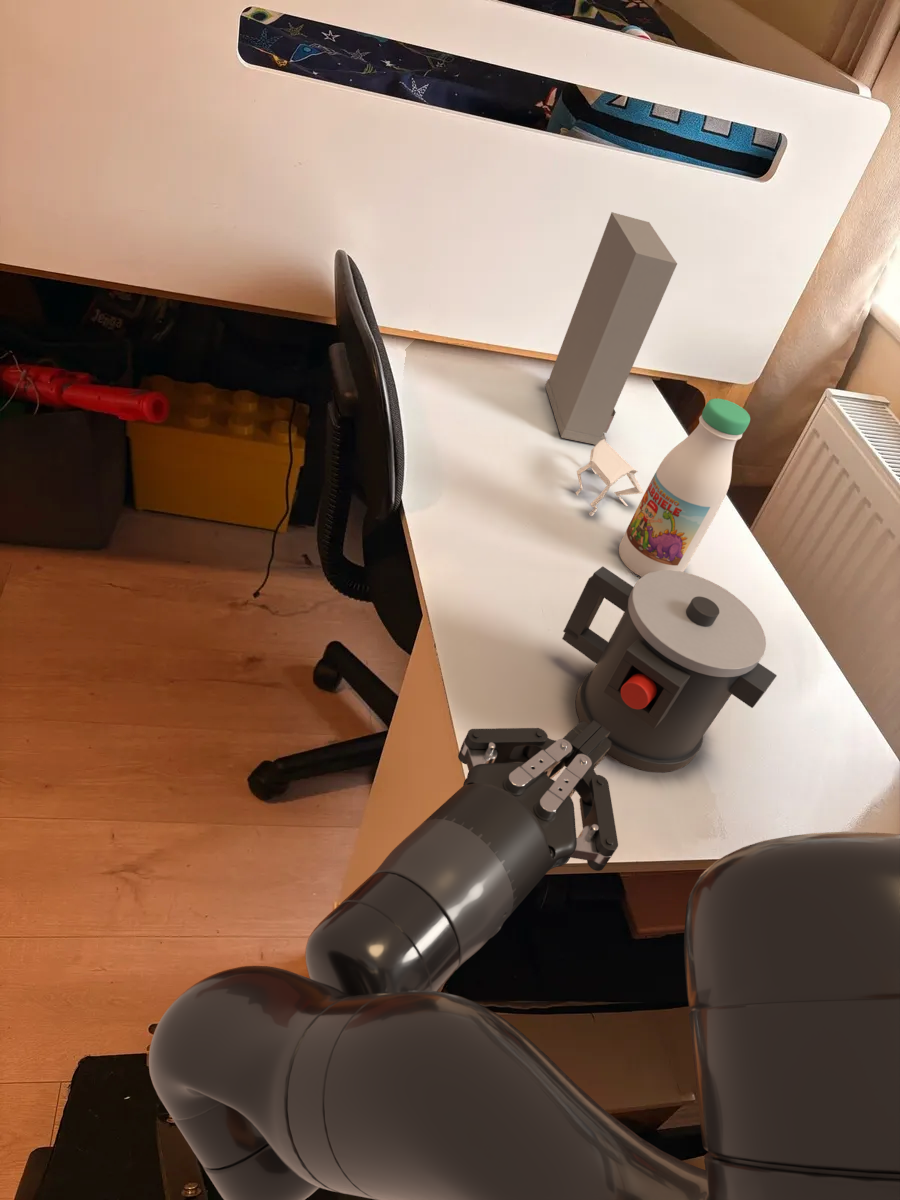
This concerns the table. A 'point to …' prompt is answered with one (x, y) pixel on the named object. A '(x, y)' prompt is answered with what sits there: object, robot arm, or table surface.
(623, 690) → the kettle button
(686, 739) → the kettle jug
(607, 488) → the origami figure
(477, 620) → the table surface
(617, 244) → the tall grey pillar
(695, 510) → the milk bottle
